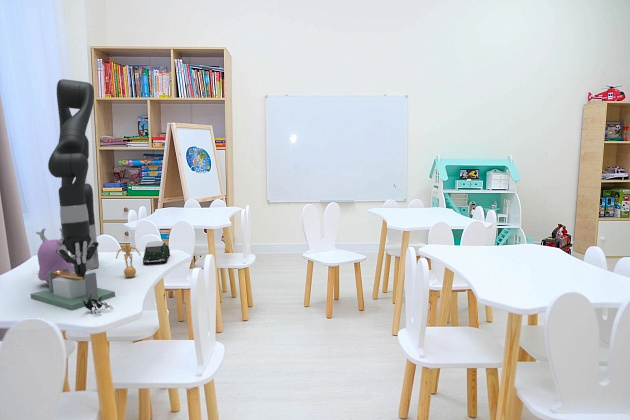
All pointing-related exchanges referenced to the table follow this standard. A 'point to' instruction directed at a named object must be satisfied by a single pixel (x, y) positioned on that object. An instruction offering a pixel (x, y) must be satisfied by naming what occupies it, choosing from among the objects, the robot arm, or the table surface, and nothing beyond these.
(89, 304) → the creature
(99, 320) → the table surface
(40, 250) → the toy character
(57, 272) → the strap
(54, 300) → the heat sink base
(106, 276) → the table surface
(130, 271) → the figurine
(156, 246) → the miniature car
